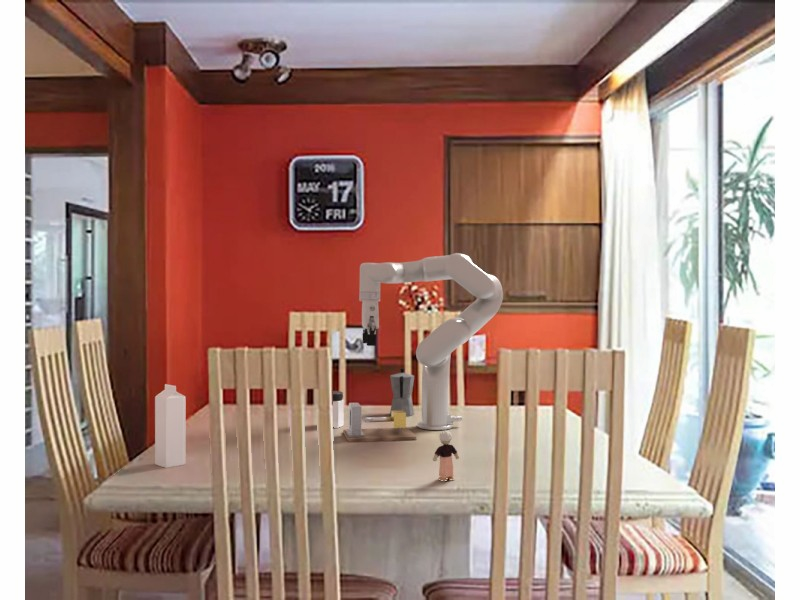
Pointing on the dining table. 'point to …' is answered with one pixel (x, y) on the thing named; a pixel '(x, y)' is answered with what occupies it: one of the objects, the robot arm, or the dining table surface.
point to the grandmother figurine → (445, 456)
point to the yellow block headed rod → (391, 419)
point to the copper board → (382, 435)
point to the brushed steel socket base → (354, 421)
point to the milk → (170, 428)
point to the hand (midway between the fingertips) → (369, 344)
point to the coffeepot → (402, 392)
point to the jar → (338, 409)
